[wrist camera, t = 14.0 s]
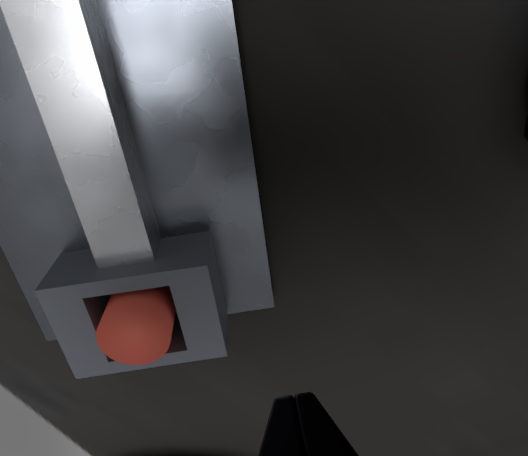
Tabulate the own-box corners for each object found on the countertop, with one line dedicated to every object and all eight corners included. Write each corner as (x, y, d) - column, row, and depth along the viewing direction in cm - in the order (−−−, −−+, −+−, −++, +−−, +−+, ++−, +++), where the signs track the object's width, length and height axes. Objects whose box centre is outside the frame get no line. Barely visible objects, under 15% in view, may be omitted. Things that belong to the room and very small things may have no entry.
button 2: (171, 259, 19) (160, 304, 16) (184, 309, 21) (177, 359, 18) (107, 268, 19) (85, 315, 16) (125, 318, 21) (108, 370, 18)
